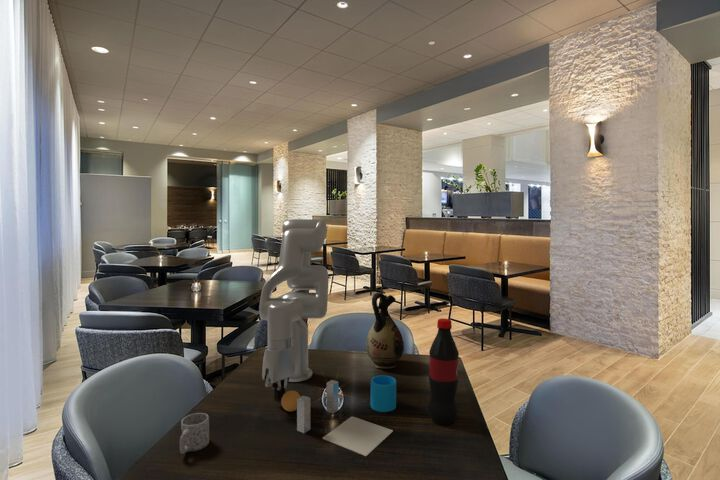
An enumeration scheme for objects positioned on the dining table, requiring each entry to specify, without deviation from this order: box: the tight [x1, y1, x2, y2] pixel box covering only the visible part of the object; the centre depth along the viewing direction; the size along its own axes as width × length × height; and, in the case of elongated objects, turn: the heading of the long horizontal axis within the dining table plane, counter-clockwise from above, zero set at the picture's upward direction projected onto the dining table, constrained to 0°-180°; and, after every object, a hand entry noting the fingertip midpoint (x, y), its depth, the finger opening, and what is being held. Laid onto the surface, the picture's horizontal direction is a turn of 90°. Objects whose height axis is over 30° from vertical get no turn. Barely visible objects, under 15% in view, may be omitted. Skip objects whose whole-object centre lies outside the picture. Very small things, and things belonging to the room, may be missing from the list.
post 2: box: [326, 379, 339, 414], centre depth 118 cm, size 3×3×9 cm
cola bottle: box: [427, 317, 459, 425], centre depth 113 cm, size 8×8×30 cm
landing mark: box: [322, 416, 394, 457], centre depth 105 cm, size 14×14×1 cm
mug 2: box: [369, 375, 397, 413], centre depth 124 cm, size 12×8×8 cm
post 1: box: [296, 395, 311, 434], centre depth 107 cm, size 3×3×9 cm
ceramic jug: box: [365, 292, 405, 370], centre depth 155 cm, size 17×15×30 cm
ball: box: [280, 390, 301, 412], centre depth 118 cm, size 6×6×6 cm
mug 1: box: [179, 412, 210, 455], centre depth 98 cm, size 10×7×7 cm, turn 174°
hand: (279, 400), depth 121 cm, fingers closed
